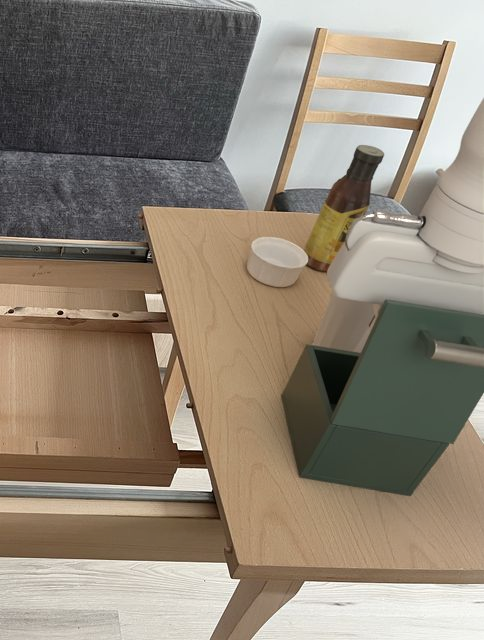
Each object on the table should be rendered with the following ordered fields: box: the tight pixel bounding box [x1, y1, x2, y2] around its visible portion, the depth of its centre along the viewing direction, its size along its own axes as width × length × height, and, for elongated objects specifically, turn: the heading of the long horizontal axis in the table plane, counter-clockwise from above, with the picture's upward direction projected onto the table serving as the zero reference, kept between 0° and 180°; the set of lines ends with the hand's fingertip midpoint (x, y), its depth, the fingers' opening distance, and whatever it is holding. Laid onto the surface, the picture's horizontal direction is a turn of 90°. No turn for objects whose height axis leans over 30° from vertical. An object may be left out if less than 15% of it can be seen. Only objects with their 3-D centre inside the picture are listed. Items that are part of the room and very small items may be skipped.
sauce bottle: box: [303, 144, 385, 272], centre depth 109 cm, size 6×6×20 cm
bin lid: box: [330, 299, 484, 445], centre depth 67 cm, size 15×13×5 cm
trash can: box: [280, 344, 450, 497], centre depth 81 cm, size 14×13×9 cm
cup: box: [311, 290, 375, 353], centre depth 93 cm, size 8×8×12 cm
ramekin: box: [246, 236, 308, 288], centre depth 110 cm, size 9×9×4 cm
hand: (403, 339), depth 73 cm, fingers closed on chocolate bar, 4 cm apart
